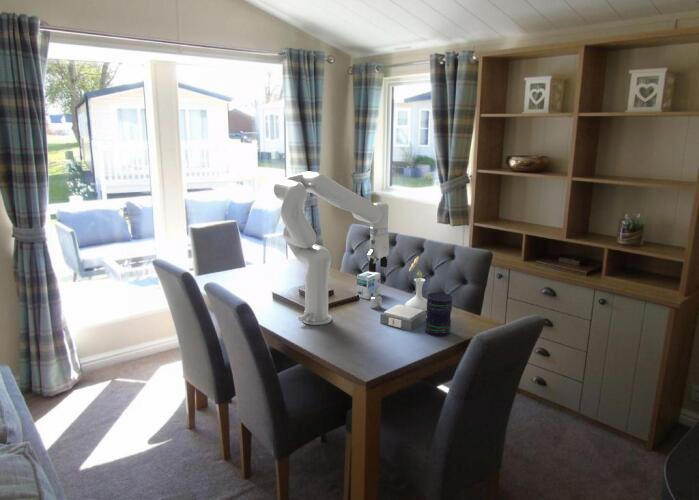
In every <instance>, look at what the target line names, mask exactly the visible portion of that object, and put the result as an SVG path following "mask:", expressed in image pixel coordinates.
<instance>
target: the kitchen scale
mask: <svg viewBox="0 0 699 500" xmlns="http://www.w3.org/2000/svg"><path fill="white" fill-rule="evenodd" d="M379 317H380V318H379V319H380V321H379V322H380V324H382V325H384V326H385V325H387V326H390V327H394V328H397V329H402V330H404V331H405V330H406V331H409V332H411V331H413V330H414V329H416V328H417V327H419V326H420V325H421V324H424V323H426V318H427V311H423V310H421V309H416V308H412V307H408V306H405V305H402V304H396V305H394V306H392V307H391V308H389V309H387V310H385V311H383V312H381V313H380V316H379Z"/></svg>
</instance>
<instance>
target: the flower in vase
mask: <svg viewBox="0 0 699 500" xmlns="http://www.w3.org/2000/svg"><path fill="white" fill-rule="evenodd" d="M419 260H420V256H416V257H415V258H414V260H413V263H411V266H410V267H409V268H408V272H412V271H413V270H414V268H415V267H416V269H417V272H416V275H417V277H416V278H414V279H413V280H414V282H415V285H416V292H415V293H416V294H415V296H413V297H412V298H410V299H408V301H406V303H405V305H404V306H408V307H412V308H416V309H421V310H423V311H425V312H427V299H425V298H424V297H423V294H422V293H423V292H422V291H423V290H422V289H423V286H424V285H423V284H424V283H425V282H426V279H425V278H422V277H423V272H422V271H421V270H420V269H419V267H418V264H417V263H418V261H419Z"/></svg>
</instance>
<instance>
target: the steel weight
mask: <svg viewBox="0 0 699 500" xmlns="http://www.w3.org/2000/svg"><path fill="white" fill-rule="evenodd" d="M369 304H370V306H369V307H370V309H371V310H374V311H379V310H381V309H382V305H383V297H382V296H381V295H377V296H371V298H370V303H369Z"/></svg>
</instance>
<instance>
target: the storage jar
mask: <svg viewBox="0 0 699 500" xmlns="http://www.w3.org/2000/svg"><path fill="white" fill-rule="evenodd" d="M426 300H427V311H426V321H425V322H424V323H425V330H424V331H425V334H427V335H428V336H431V337H434V338H435V337H436V338H444V337H448V336H449V335H450V333H451V326H452V325H451V324H452V320H451V316H452V310H453V296H452V295H451V294H449V293H444V292H430V293H428V294H427V299H426Z"/></svg>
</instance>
